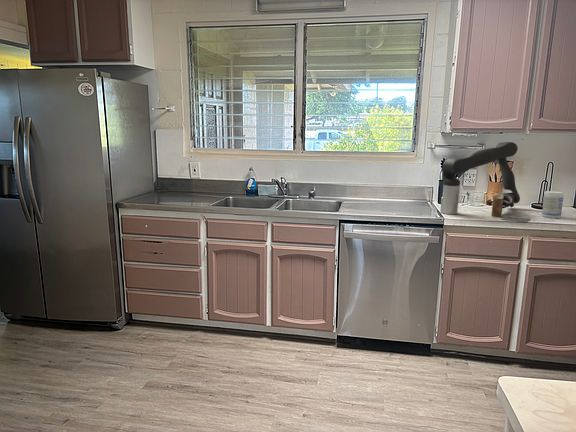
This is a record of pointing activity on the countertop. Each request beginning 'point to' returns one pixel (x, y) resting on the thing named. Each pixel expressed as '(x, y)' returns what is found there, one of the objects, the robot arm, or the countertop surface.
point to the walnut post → (497, 205)
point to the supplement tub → (552, 204)
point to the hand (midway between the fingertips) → (497, 204)
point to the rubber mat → (516, 219)
